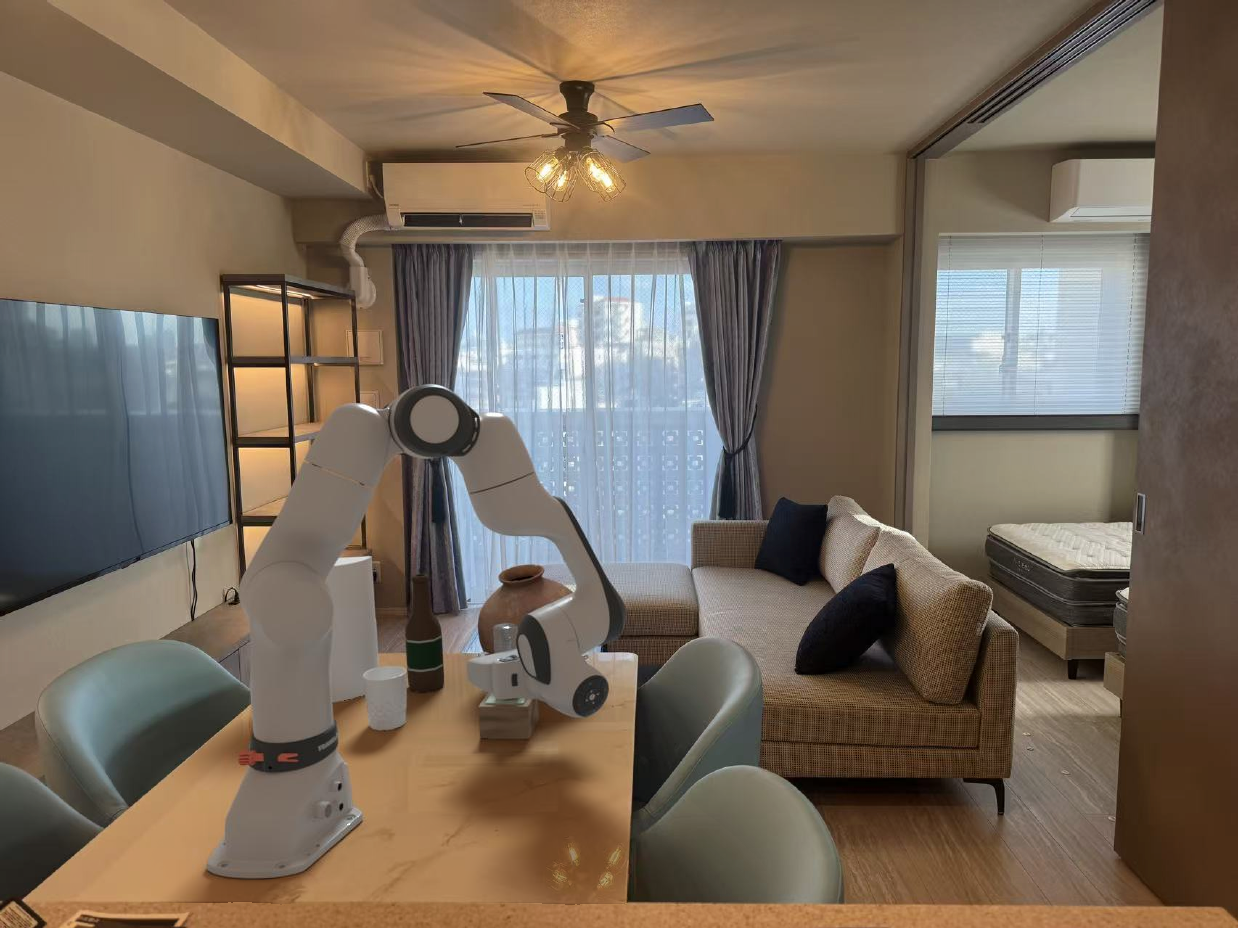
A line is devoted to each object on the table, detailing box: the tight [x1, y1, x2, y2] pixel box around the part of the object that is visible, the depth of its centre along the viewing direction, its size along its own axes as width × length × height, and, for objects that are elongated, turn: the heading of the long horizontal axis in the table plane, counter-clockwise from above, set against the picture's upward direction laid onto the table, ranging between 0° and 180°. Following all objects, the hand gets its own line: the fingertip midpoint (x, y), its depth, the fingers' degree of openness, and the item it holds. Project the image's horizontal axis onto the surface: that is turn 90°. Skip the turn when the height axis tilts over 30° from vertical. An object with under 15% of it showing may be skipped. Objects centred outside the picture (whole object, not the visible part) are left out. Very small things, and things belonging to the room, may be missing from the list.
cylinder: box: [325, 555, 380, 703], centre depth 184 cm, size 17×17×28 cm
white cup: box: [363, 665, 408, 732], centre depth 165 cm, size 8×8×10 cm
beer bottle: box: [404, 573, 445, 693], centre depth 184 cm, size 8×8×24 cm
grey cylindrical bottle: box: [493, 623, 518, 700], centre depth 159 cm, size 5×5×13 cm
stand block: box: [477, 692, 540, 740], centre depth 161 cm, size 9×9×6 cm
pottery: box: [477, 563, 574, 655], centre depth 183 cm, size 23×23×25 cm
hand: (504, 651), depth 160 cm, fingers open, 8 cm apart
